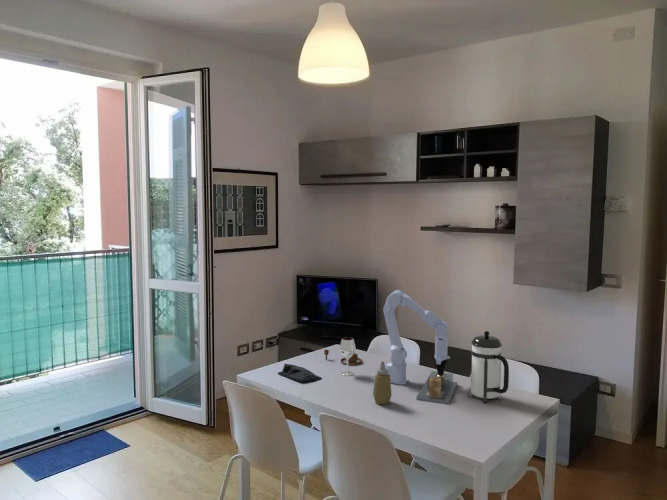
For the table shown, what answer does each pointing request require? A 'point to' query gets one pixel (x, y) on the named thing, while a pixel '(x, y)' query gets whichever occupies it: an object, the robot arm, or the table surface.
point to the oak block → (435, 386)
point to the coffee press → (487, 367)
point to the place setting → (350, 361)
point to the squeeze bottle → (382, 386)
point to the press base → (446, 389)
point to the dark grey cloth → (298, 373)
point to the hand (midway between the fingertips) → (440, 375)
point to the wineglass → (347, 351)
